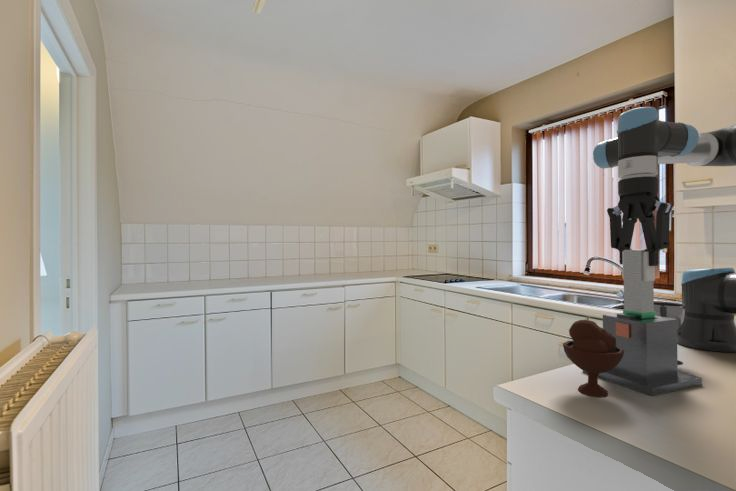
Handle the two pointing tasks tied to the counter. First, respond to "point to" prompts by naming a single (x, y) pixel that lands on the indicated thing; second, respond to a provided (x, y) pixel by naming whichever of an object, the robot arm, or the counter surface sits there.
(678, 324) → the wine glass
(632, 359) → the stand housing
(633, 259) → the post
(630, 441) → the counter surface
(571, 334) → the ice cream bowl
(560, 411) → the counter surface
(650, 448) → the counter surface
